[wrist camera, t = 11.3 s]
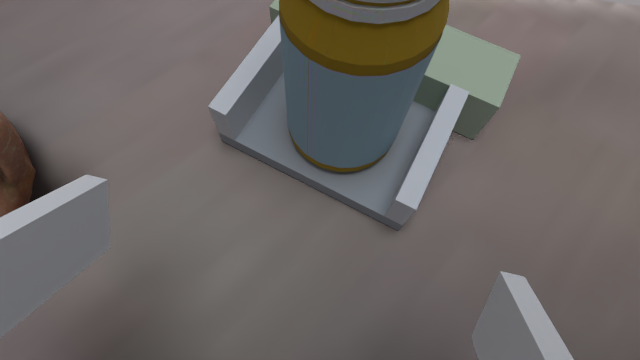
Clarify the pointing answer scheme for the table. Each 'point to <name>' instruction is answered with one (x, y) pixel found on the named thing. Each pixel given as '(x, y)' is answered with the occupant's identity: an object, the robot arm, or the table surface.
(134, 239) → the table surface
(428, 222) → the table surface
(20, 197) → the ceramic jug
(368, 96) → the bottle
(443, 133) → the green-backed grey tray
